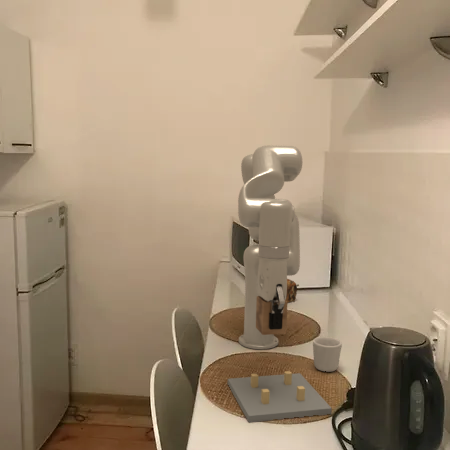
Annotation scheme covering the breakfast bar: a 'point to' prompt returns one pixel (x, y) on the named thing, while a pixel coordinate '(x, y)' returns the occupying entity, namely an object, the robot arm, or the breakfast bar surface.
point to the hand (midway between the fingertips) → (271, 324)
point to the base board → (277, 397)
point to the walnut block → (263, 317)
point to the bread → (291, 291)
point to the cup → (326, 353)
